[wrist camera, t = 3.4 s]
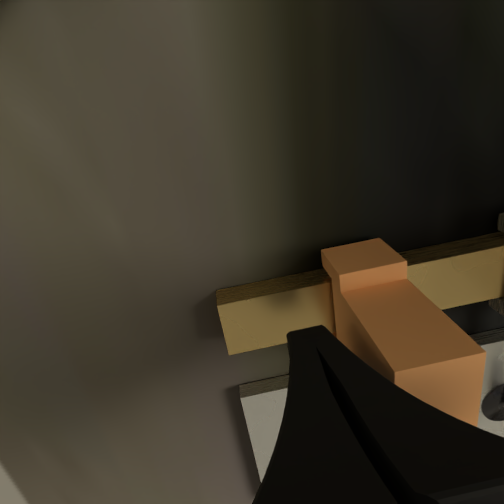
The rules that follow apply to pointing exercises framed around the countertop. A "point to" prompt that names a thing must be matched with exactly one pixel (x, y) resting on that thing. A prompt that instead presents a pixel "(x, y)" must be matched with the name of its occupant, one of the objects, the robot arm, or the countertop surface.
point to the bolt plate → (275, 389)
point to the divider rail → (321, 292)
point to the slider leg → (403, 329)
